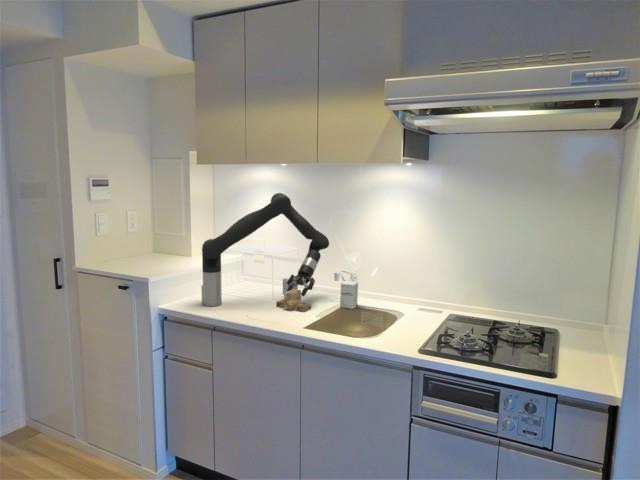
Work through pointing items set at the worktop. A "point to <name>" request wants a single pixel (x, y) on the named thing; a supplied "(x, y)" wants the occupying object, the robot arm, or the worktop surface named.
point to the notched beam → (301, 307)
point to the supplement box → (349, 294)
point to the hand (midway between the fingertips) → (295, 294)
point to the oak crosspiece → (292, 299)
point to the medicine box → (285, 285)
